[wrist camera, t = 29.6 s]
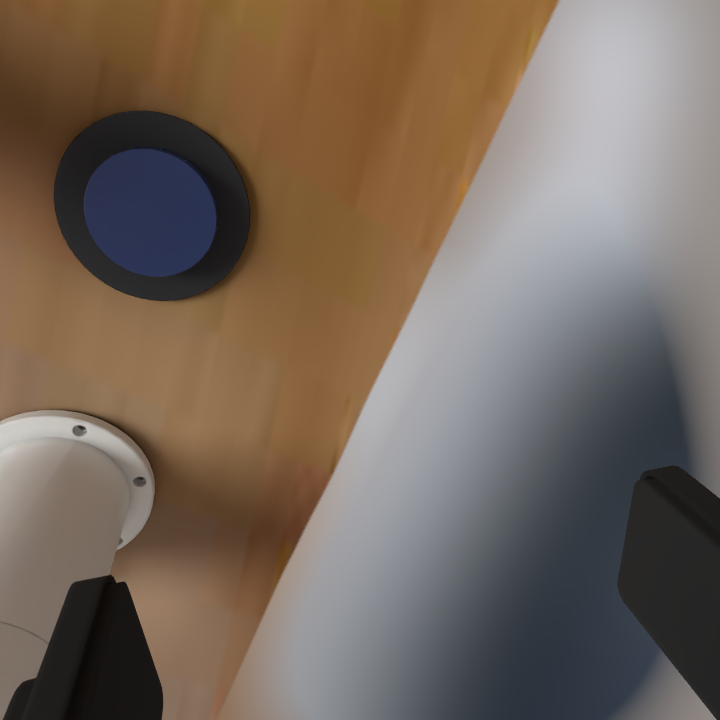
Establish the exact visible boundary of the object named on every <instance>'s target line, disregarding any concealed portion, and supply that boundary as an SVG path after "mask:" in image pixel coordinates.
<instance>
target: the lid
mask: <svg viewBox="0 0 720 720" xmlns="http://www.w3.org/2000/svg"><path fill="white" fill-rule="evenodd" d="M188 160H189V159H188V158H187V159H185V158H184V157H182V156H180V155H178V154H176V153H174V152H171V151H169V150H165V148H154V147H140V148H139V146H136V147H133V149H130V150H127V151H123V152H120V153H118V154H116V155H112V156H109V159H107V160H106V161H104V162H103V163H102V164H101V165H100V166H99V167H98V168H97V169H96V171H95V172H94V173H93V174H92V176H91V178H90V180H89V182H88V185H87V188H86V191H85V196H84V215H85V219H86V223H87V226H88V229H89V232H90V234H91V236H92V238H93V239H94V241H95V242H96V244H97V245H98V247H99V248H100V249H101V250H102V252H103V253H104V254H105V255H106V256H107V257H109V258H110V259H111V260H112V261H114V262H115V263H116V264H118V265H119V266H121V267H123V268H125V269H127V270H129V271H131V272H134V273H137V274H140V275H145V276H153V277H163V276H171V275H175V274H178V273H181V272H183V271H186V270H188V269H189V268H191V267H193V266H194V265H195V264H197V263H198V262H199V261H200V260H201V259H202V258H203V257H204V255H205V254H206V253H207V251H208V250H210V247H211V244H212V242H213V239H214V236H215V232H216V229H218V225H219V224H218V223H217V222H218V209H217V202H218V201H217V200H216V198H215V195H214V193H213V190H212V188H211V186H210V184H209V182H208V181H207V177H205V176H204V175H203V174H202V173H201V172H200V170H199V169H198V168H197V167H196V166H194V165H193V164H192V163H191V162H190V161H188Z"/></svg>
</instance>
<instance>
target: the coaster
mask: <svg viewBox="0 0 720 720" xmlns="http://www.w3.org/2000/svg"><path fill="white" fill-rule="evenodd" d="M136 146H139V148H140V147H154V148H165V150H169V151H171V152H174V153H176V154H178V155H180V156H182V157H184V158H185V159H187V158H188V159H189V160H188V161H190V162H191V163H192V164H193V165H194V166H196V167H197V168H198V169H199V170H200V172H201V173H202V174H203V175H204V176H205V177H207V181H208V182H209V184H210V186H211V188H212V190H213V193H214V195H215V198H216V200H217V201H218V202H217V209H218V222H217V223H218V224H219V225H218V229H216V232H215V236H214V239H213V242H212V244H211V247H210V250H208V251H207V253H206V254H205V255H204V257H203V258H202V259H201V260H200V261H199V262H198V263H197V264H195V265H194V266H193V267H191V268H189V269H188V270H186V271H183V272H181V273H178V274H175V275H171V276H163V277H153V276H145V275H140V274H137V273H134V272H131V271H129V270H127V269H125V268H123V267H121V266H119V265H118V264H116V263H115V262H114V261H112V260H111V259H110V258H109V257H107V256H106V255H105V254H104V253H103V252H102V250H101V249H100V248H99V247H98V245H97V244H96V242H95V241H94V239H93V238H92V236H91V234H90V232H89V229H88V226H87V223H86V219H85V215H84V196H85V191H86V188H87V185H88V182H89V180H90V178H91V176H92V174H93V173H94V172H95V171H96V169H97V168H98V167H99V166H100V165H101V164H102V163H103V162H104V161H106V160H107V159H109V156H112V155H116V154H118V153H120V152H123V151H127V150H130V149H133V147H136ZM54 203H55V211H56V216H57V220H58V224H59V226H60V229H61V232H62V234H63V236H64V238H65V240H66V242H67V244H68V246H69V247H70V249H71V250H72V252H73V253H74V255H75V256H76V257H77V259H78V260H79V261H80V262H81V263H82V264H83V266H84V267H85V268H87V269H88V270H89V271H90V272H91V273H92V274H93V275H94V276H96V277H97V278H98V279H100V280H101V281H102V282H104V283H105V284H107V285H109V286H111V287H112V288H114V289H116V290H118V291H121V292H123V293H125V294H128V295H131V296H135V297H138V298H143V299H148V300H159V301H168V300H178V299H184V298H188V297H191V296H194V295H197V294H200V293H202V292H204V291H206V290H208V289H210V288H211V287H213V286H214V285H216V284H217V283H218V282H220V281H221V280H222V279H223V278H224V277H225V276H226V275H227V274H228V273H229V272H230V271H231V270H232V269H233V267H234V266H235V264H236V263H237V261H238V260H239V258H240V256H241V254H242V252H243V250H244V247H245V244H246V241H247V237H248V232H249V224H250V210H249V200H248V196H247V191H246V188H245V185H244V182H243V179H242V177H241V175H240V173H239V171H238V169H237V167H236V165H235V164H234V162H233V161H232V159H231V158H230V156H229V155H228V154H227V153H226V151H225V150H224V149H223V148H222V147H221V145H219V144H218V143H217V142H216V141H215V140H214V139H213V138H212V137H211V136H210V135H208V134H207V133H206V132H204V131H203V130H201V129H200V128H198V127H197V126H195V125H193V124H191V123H189V122H188V121H185V120H183V119H180V118H178V117H175V116H172V115H168V114H164V113H160V112H152V111H129V112H122V113H118V114H114V115H111V116H108V117H105V118H103V119H101V120H99V121H97V122H95V123H93V124H92V125H90V126H89V127H87V128H86V129H85V130H83V131H82V132H81V133H80V134H79V135H78V136H77V137H76V138H75V139H74V140H73V142H72V143H71V144H70V146H69V147H68V148H67V150H66V152H65V154H64V155H63V157H62V159H61V162H60V164H59V167H58V170H57V174H56V179H55V184H54Z"/></svg>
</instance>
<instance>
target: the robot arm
mask: <svg viewBox="0 0 720 720" xmlns="http://www.w3.org/2000/svg"><path fill="white" fill-rule="evenodd" d="M80 425H81V426H80ZM82 426H84V427H82ZM154 494H155V481H154V474H153V471H152V469H151V466H150V463H149V461H148V459H147V458H146V456H145V454H144V453H143V451H142V450H141V449H140V447H139V446H138V445H137V444H136V443H135V442H134V441H133V440H132V439H131V438H130V437H129V436H127V435H126V434H125V433H123V432H122V431H121V430H119V429H118V428H117V427H115V426H113V425H111V424H109V423H107V422H105V421H103V420H101V419H98V418H95V417H92V416H89V415H86V414H82V413H77V412H70V411H64V410H40V411H33V412H26V413H22V414H18V415H15V416H12V417H9V418H6V419H4V420H2V421H0V720H162V712H163V692H162V686H161V683H160V680H159V677H158V674H157V671H156V668H155V665H154V662H153V659H152V656H151V653H150V651H149V648H148V645H147V642H146V639H145V636H144V633H143V630H142V627H141V624H140V621H139V618H138V615H137V612H136V609H135V606H134V603H133V600H132V597H131V594H130V592H129V589H128V586H127V584H126V583H125V582H119V583H116V581H115V579H114V577H113V576H112V575H109V574H110V571H111V567H112V564H113V560H114V557H115V554H116V551H117V550H119V549H121V548H122V547H123V546H125V545H126V544H127V543H129V542H130V541H131V540H132V539H134V538H135V536H136V535H137V534H138V533H139V532H140V531H141V530H142V528H143V527H144V525H145V523H146V521H147V519H148V518H149V516H150V512H151V509H152V505H153V501H154ZM618 590H619V593H620V596H621V598H622V600H623V601H624V603H625V604H626V605H627V607H628V608H629V609H630V611H631V612H632V613H633V614H634V616H635V617H636V618H637V619H638V621H639V622H640V623H641V624H642V626H643V627H644V628H645V630H646V631H647V632H648V633H649V634H650V636H651V637H652V638H653V640H654V641H655V642H656V644H657V645H658V646H659V647H660V649H661V650H662V651H663V652H664V654H665V655H666V656H667V657H668V659H669V660H670V661H671V662H672V664H673V665H674V666H675V668H676V669H677V670H678V671H679V673H680V674H681V675H682V676H683V678H684V679H685V680H686V681H687V682H688V684H689V685H690V686H691V688H692V689H693V690H694V691H695V693H696V694H697V695H698V696H699V698H700V699H701V700H702V702H703V703H704V704H705V705H706V707H707V708H708V709H709V710H710V712H711V713H712V714H713V716H714V717H715V718H716V719H717V720H720V498H718V497H717V496H716V495H715V494H713V493H712V492H711V491H709V490H708V489H707V488H706V487H704V486H703V485H702V484H701V483H699V482H698V481H697V480H696V479H694V478H693V477H692V476H690V475H689V474H688V473H687V472H685V471H684V470H683V469H681V468H680V467H677V466H669V467H663V468H658V469H653V470H648V471H645V472H643V474H642V475H641V477H640V480H639V481H637V482H636V483H635V486H634V490H633V496H632V502H631V508H630V513H629V519H628V525H627V531H626V537H625V543H624V549H623V554H622V560H621V566H620V572H619V578H618Z"/></svg>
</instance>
